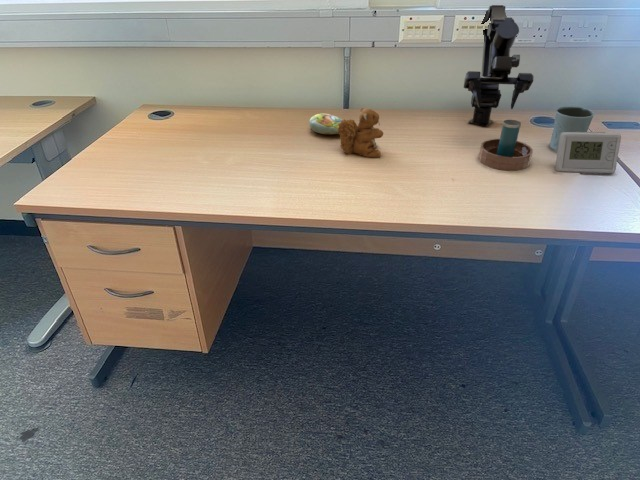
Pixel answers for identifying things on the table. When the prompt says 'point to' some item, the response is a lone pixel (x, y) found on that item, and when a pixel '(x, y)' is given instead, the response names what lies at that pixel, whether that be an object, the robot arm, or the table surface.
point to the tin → (508, 138)
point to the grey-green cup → (570, 122)
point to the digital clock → (587, 152)
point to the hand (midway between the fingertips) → (495, 107)
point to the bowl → (501, 162)
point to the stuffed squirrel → (361, 134)
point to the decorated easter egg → (325, 124)
